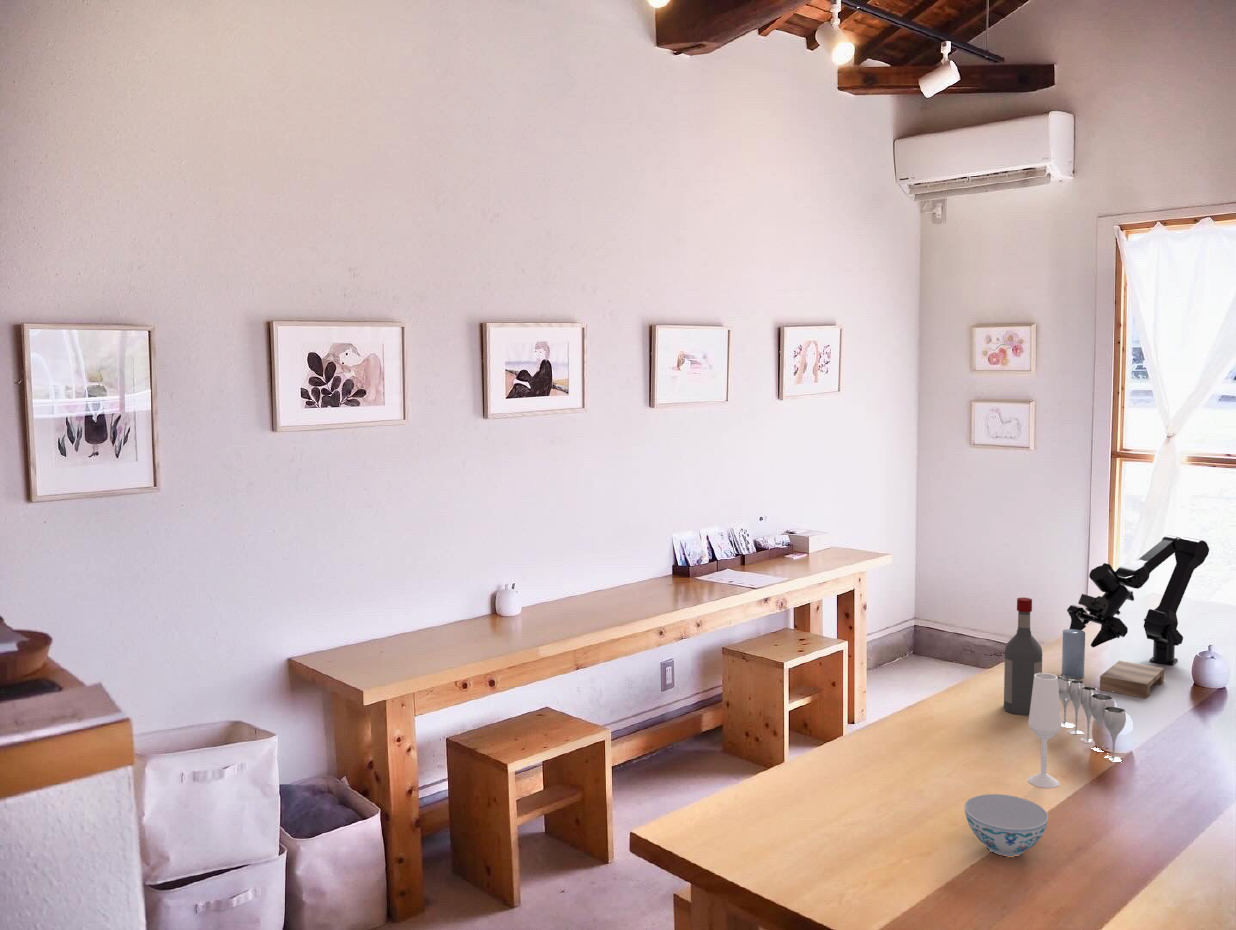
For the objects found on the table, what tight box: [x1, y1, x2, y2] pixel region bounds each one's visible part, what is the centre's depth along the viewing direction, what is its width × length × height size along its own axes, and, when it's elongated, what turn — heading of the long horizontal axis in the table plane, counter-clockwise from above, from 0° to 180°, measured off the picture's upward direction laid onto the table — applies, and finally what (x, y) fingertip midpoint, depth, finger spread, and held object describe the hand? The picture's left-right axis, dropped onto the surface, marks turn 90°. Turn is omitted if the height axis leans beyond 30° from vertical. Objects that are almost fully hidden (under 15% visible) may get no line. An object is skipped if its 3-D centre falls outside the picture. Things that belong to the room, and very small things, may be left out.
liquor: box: [1003, 597, 1043, 716], centre depth 270 cm, size 9×9×30 cm
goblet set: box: [1057, 675, 1127, 763], centre depth 249 cm, size 28×6×13 cm, turn 4°
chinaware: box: [964, 793, 1049, 856], centre depth 196 cm, size 15×15×8 cm
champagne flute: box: [1027, 672, 1062, 789], centre depth 225 cm, size 7×7×24 cm
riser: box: [1099, 660, 1165, 699], centre depth 289 cm, size 18×12×4 cm, turn 139°
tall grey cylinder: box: [1061, 628, 1086, 679], centre depth 299 cm, size 6×6×13 cm
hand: (1079, 642), depth 299 cm, fingers open, 9 cm apart
